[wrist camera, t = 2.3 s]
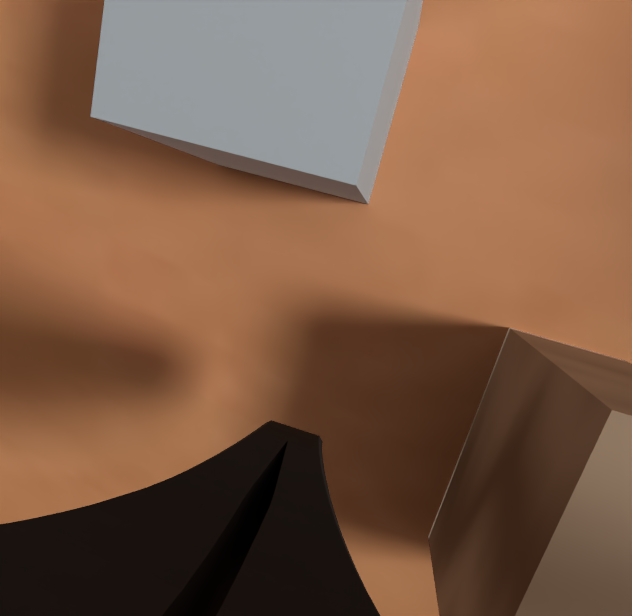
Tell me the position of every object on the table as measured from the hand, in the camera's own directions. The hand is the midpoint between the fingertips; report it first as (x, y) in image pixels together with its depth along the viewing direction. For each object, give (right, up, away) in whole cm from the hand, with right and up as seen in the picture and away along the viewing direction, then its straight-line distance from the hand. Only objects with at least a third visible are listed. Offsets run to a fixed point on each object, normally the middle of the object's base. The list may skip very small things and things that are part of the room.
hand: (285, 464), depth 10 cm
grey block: (+1, +10, +3) cm, 10 cm away
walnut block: (+7, -1, +4) cm, 8 cm away
